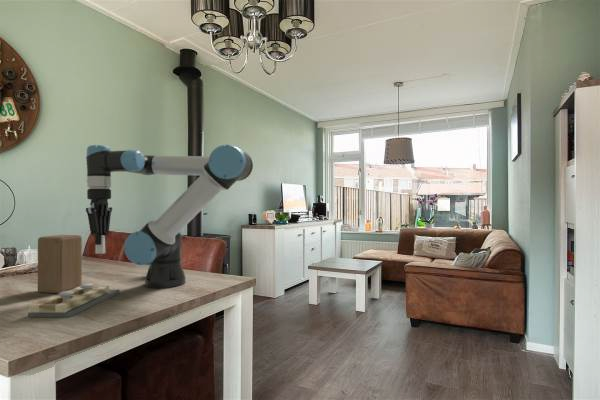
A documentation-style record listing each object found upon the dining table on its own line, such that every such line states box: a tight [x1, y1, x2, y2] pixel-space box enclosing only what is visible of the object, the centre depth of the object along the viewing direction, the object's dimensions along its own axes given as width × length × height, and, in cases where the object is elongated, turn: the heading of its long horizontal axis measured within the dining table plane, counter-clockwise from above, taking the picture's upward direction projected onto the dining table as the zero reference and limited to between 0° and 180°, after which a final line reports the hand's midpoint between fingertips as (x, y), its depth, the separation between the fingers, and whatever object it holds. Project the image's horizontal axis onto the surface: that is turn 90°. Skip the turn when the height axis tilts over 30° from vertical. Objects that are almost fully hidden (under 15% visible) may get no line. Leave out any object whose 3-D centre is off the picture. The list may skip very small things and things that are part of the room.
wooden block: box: [37, 234, 83, 294], centre depth 128 cm, size 10×10×20 cm
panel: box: [28, 285, 110, 313], centre depth 108 cm, size 22×10×2 cm, turn 0°
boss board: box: [27, 282, 120, 318], centre depth 111 cm, size 26×12×5 cm, turn 0°
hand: (100, 253), depth 126 cm, fingers closed
